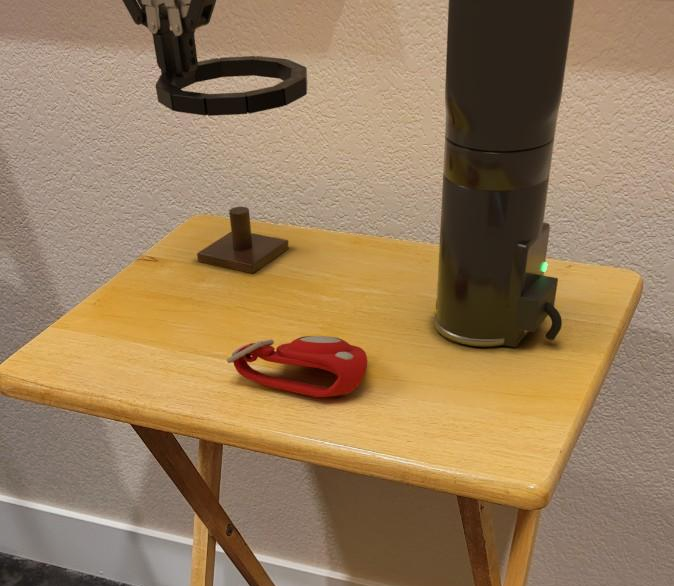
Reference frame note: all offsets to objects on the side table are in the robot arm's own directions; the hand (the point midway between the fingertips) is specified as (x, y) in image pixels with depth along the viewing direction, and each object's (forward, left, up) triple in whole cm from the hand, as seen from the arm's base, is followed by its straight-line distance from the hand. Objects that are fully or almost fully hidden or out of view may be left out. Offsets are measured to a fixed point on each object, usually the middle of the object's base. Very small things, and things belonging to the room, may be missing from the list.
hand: (179, 74), depth 90 cm
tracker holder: (-26, +20, -18) cm, 37 cm away
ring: (-7, 0, -1) cm, 7 cm away
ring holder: (-6, 0, -18) cm, 19 cm away
